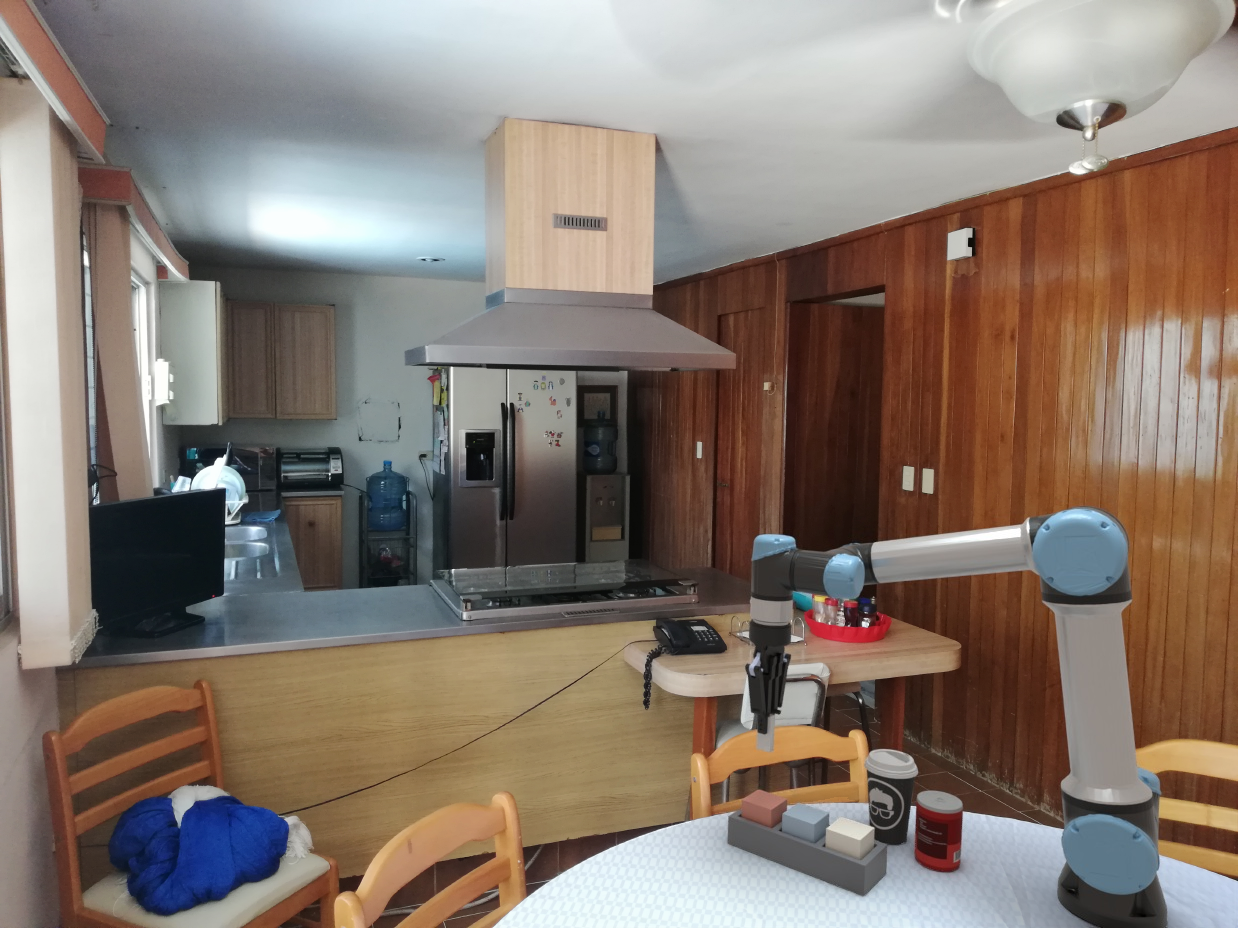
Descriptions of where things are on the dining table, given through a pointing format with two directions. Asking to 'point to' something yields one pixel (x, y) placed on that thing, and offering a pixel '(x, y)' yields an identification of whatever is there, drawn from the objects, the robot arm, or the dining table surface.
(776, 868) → the dining table surface
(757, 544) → the robot arm
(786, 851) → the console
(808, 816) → the key blue
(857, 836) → the key ivory
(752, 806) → the key brick
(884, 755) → the coffee cup
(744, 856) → the dining table surface
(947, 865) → the canned food
